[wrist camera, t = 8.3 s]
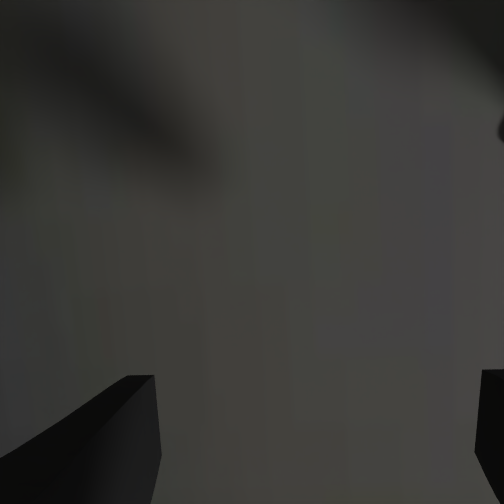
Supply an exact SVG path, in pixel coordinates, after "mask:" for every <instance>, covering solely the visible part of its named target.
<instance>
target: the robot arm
mask: <svg viewBox="0 0 504 504" xmlns="http://www.w3.org/2000/svg"><path fill="white" fill-rule="evenodd" d="M475 454H476V456H477V458H478V460H479V463H480V465H481V467H482V469H483V471H484V473H485V476H486V478H487V480H488V482H489V484H490V485H491V487H492V489H493V491H494V493H495V495H496V497H497V499H498V500H499V502H500V504H504V369H494V370H482V376H481V387H480V398H479V409H478V420H477V431H476V442H475ZM161 456H162V453H161V443H160V432H159V421H158V410H157V400H156V389H155V378H154V375H130V376H126V377H124V378H122V379H120V380H119V381H117V382H116V383H114V384H113V385H111V386H110V387H108V388H107V389H105V390H104V391H103V392H101V393H100V394H98V395H97V396H95V397H94V398H93V399H91V400H90V401H88V402H87V403H85V404H84V405H82V406H81V407H80V408H78V409H77V410H75V411H74V412H72V413H71V414H69V415H68V416H67V417H65V418H64V419H62V420H61V421H59V422H58V423H56V424H55V425H53V426H51V427H50V428H48V429H47V430H45V431H44V432H42V433H40V434H39V435H37V436H36V437H34V438H32V439H31V440H29V441H28V442H26V443H25V444H23V445H21V446H20V447H18V448H17V449H15V450H13V451H12V452H10V453H8V454H7V455H5V456H3V457H1V458H0V504H150V502H151V500H152V496H153V491H154V487H155V483H156V479H157V474H158V470H159V465H160V460H161Z"/></svg>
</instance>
